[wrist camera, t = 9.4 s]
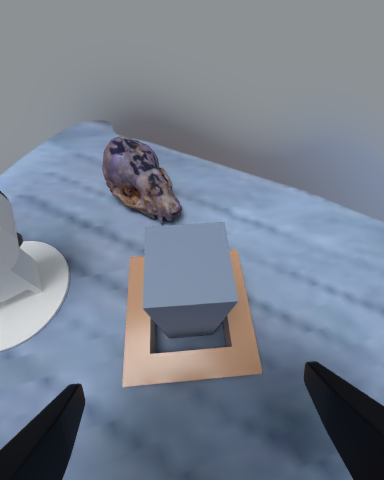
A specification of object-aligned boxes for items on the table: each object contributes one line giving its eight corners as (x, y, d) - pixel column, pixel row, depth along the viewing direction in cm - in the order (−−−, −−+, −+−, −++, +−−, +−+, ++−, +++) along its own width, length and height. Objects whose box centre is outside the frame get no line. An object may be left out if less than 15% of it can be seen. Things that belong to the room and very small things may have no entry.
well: (252, 371, 19) (262, 373, 16) (131, 383, 18) (122, 387, 16) (232, 261, 24) (237, 249, 21) (136, 268, 24) (130, 257, 21)
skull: (195, 214, 27) (197, 179, 22) (141, 244, 25) (128, 212, 20) (150, 159, 32) (142, 119, 27) (101, 180, 30) (82, 141, 25)
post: (211, 334, 20) (238, 301, 9) (169, 338, 20) (142, 308, 9) (206, 292, 22) (224, 222, 11) (168, 295, 22) (145, 226, 11)
